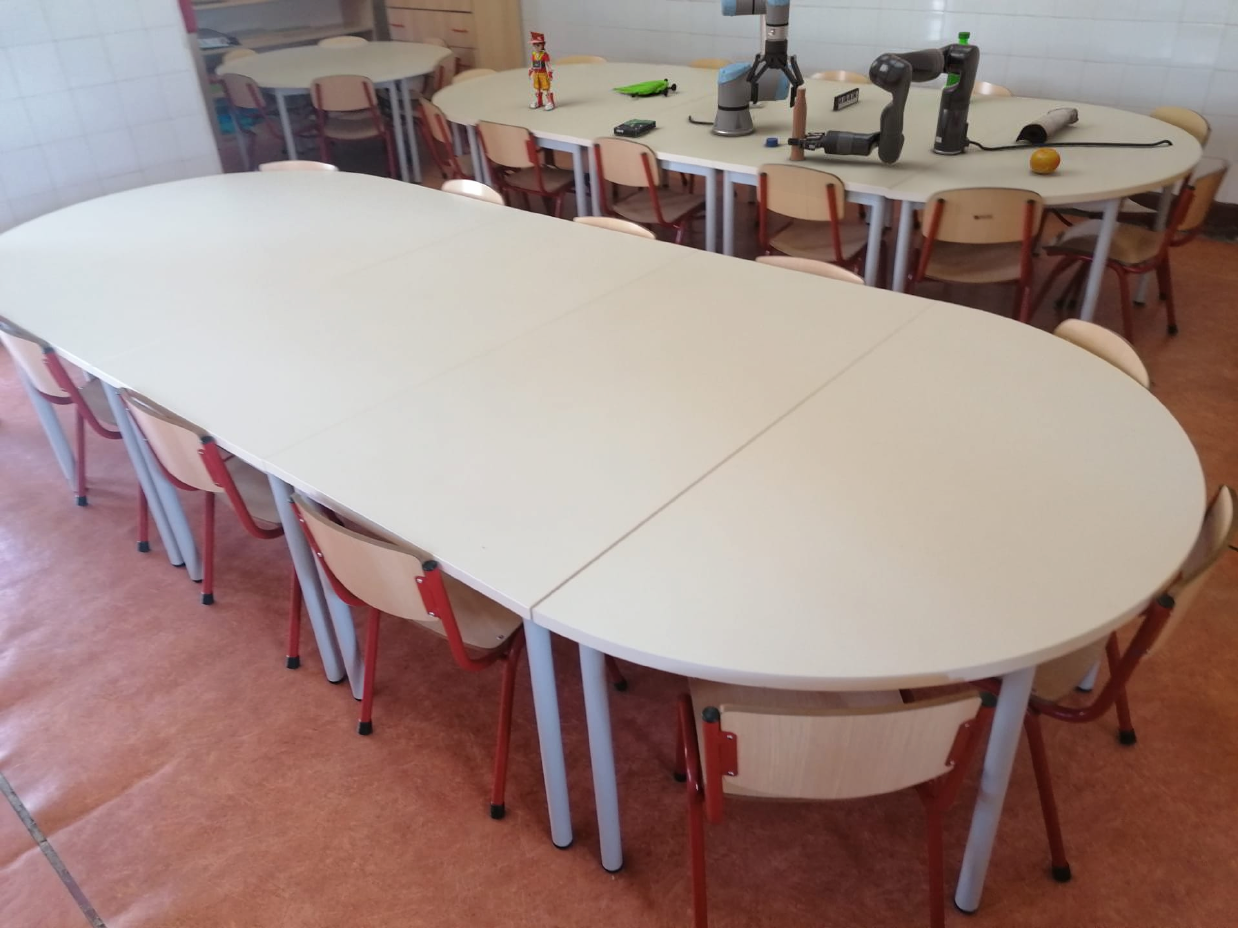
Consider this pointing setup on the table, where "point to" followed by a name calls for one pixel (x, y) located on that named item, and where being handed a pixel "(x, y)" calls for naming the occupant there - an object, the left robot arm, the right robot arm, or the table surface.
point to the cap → (771, 142)
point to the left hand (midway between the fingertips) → (773, 105)
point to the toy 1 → (541, 71)
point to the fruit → (1045, 160)
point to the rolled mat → (1048, 125)
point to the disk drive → (634, 127)
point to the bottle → (799, 123)
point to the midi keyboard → (846, 98)
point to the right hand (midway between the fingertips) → (790, 139)
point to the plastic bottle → (962, 40)
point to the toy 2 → (648, 88)
